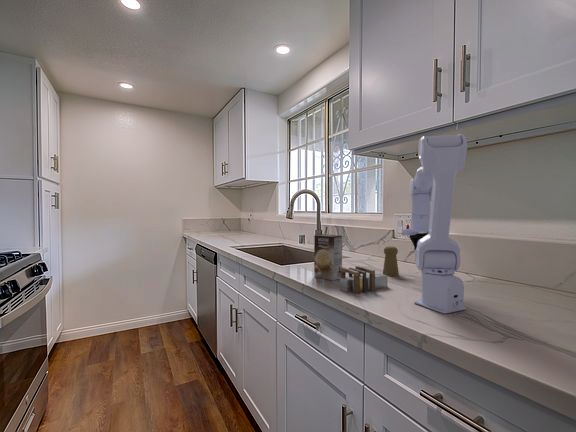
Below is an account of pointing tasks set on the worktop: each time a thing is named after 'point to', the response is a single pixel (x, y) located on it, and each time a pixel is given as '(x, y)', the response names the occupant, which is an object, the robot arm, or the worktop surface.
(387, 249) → the cork
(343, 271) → the wooden slatted rack
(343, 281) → the tube
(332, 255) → the coffee box
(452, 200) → the robot arm
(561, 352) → the worktop surface
